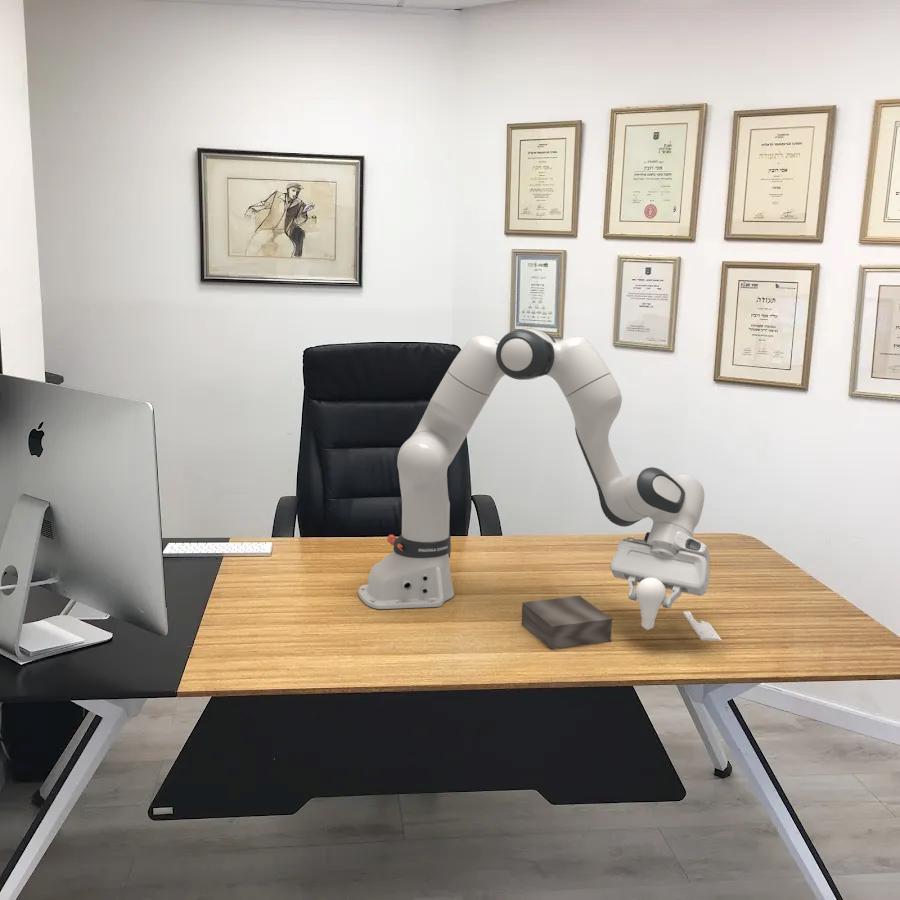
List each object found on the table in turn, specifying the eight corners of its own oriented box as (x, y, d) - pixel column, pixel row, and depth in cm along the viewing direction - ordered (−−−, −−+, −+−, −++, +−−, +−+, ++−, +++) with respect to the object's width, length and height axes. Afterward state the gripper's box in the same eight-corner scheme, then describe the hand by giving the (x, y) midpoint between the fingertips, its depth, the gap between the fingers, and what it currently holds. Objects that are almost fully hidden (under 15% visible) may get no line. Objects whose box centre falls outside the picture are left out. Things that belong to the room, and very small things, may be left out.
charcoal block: (550, 649, 190) (552, 626, 189) (521, 624, 203) (522, 602, 202) (610, 641, 195) (612, 618, 194) (578, 616, 208) (579, 595, 207)
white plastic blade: (705, 615, 212) (705, 611, 211) (724, 642, 197) (724, 638, 197) (682, 614, 212) (683, 610, 211) (700, 641, 197) (700, 637, 197)
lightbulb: (644, 636, 188) (650, 585, 186) (626, 625, 193) (630, 575, 191) (668, 632, 191) (673, 581, 188) (649, 621, 196) (654, 572, 194)
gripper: (618, 528, 199) (597, 584, 193) (714, 547, 189) (695, 606, 183) (624, 543, 204) (604, 598, 198) (717, 562, 194) (699, 621, 188)
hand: (648, 602), depth 190 cm, fingers closed on lightbulb, 6 cm apart
